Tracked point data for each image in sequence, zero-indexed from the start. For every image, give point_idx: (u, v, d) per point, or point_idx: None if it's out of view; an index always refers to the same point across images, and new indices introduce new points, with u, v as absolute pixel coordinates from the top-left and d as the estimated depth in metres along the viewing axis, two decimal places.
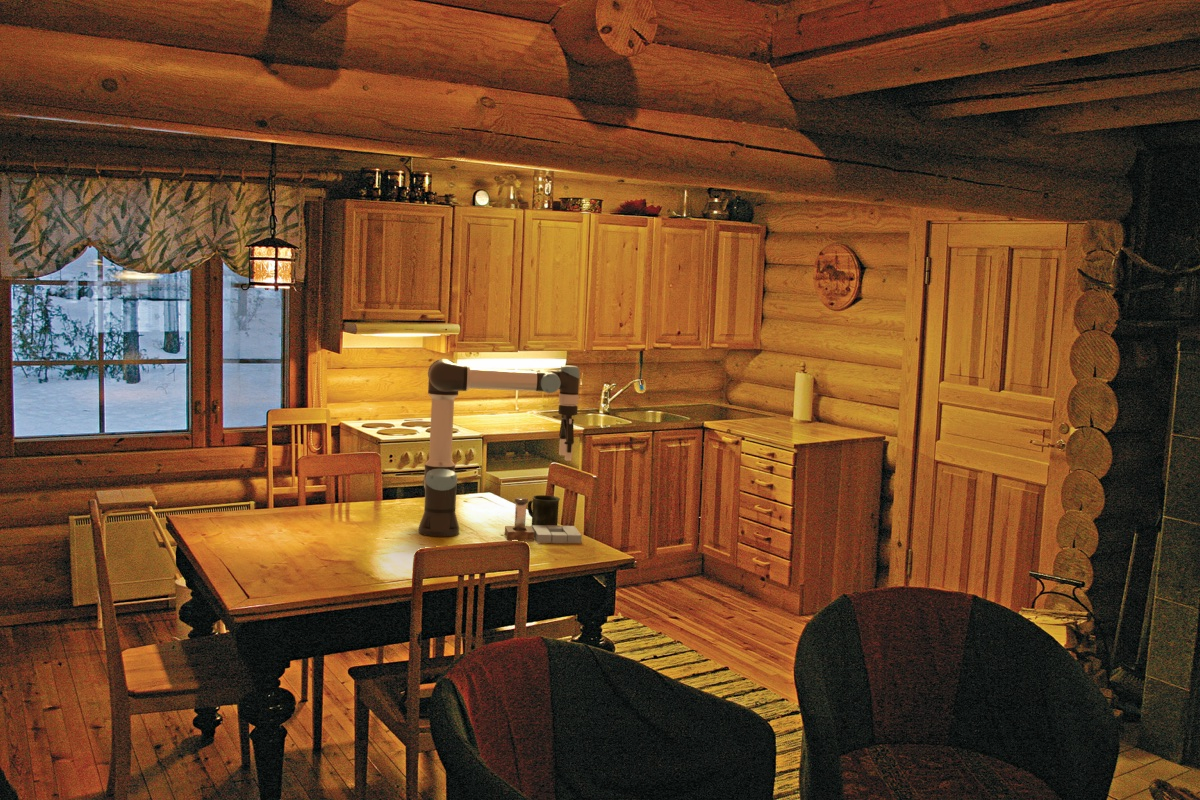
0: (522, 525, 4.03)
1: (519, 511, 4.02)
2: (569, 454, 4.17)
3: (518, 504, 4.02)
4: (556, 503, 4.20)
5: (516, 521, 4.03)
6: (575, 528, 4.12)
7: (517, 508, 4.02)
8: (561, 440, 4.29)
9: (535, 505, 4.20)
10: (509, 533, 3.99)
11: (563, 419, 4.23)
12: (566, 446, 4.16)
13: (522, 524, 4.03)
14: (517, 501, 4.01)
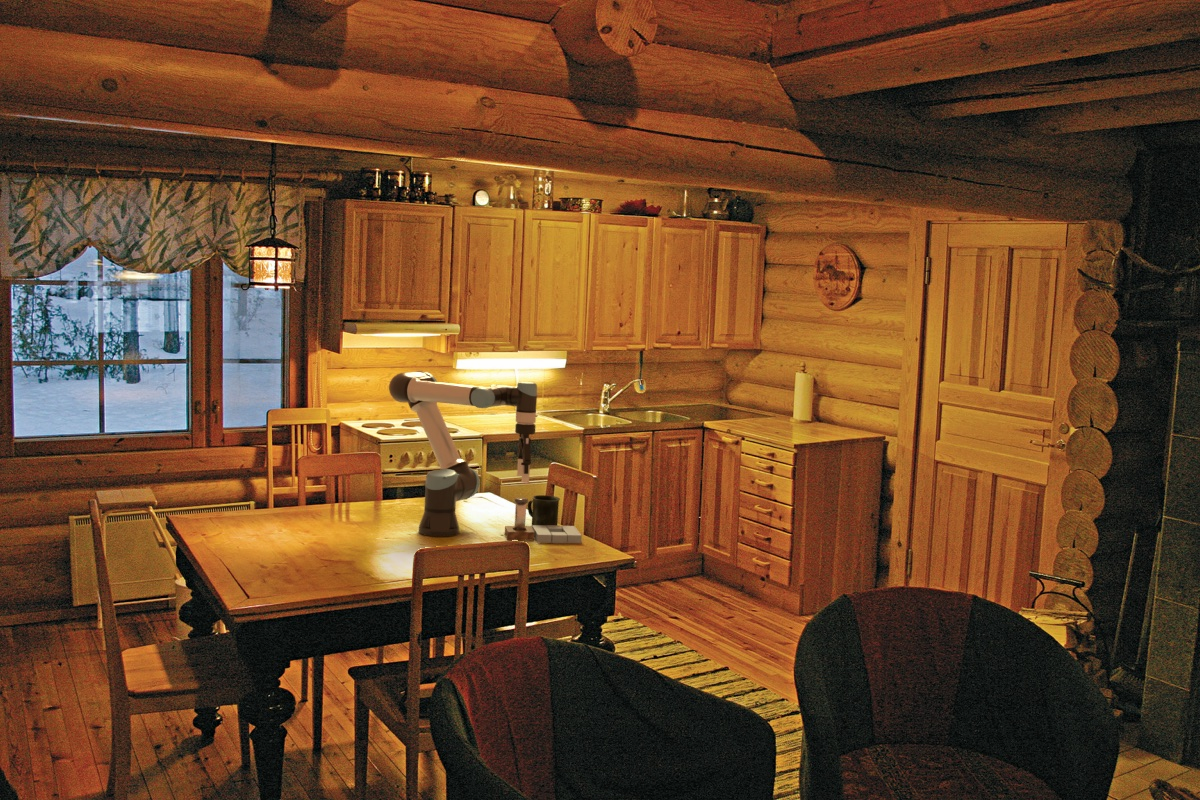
0: (522, 525, 4.03)
1: (519, 511, 4.02)
2: (526, 475, 3.96)
3: (518, 504, 4.02)
4: (556, 503, 4.20)
5: (516, 521, 4.03)
6: (575, 528, 4.12)
7: (517, 508, 4.02)
8: (519, 460, 4.08)
9: (535, 505, 4.20)
10: (509, 533, 3.99)
11: (520, 438, 4.02)
12: (523, 467, 3.95)
13: (522, 524, 4.03)
14: (517, 501, 4.01)
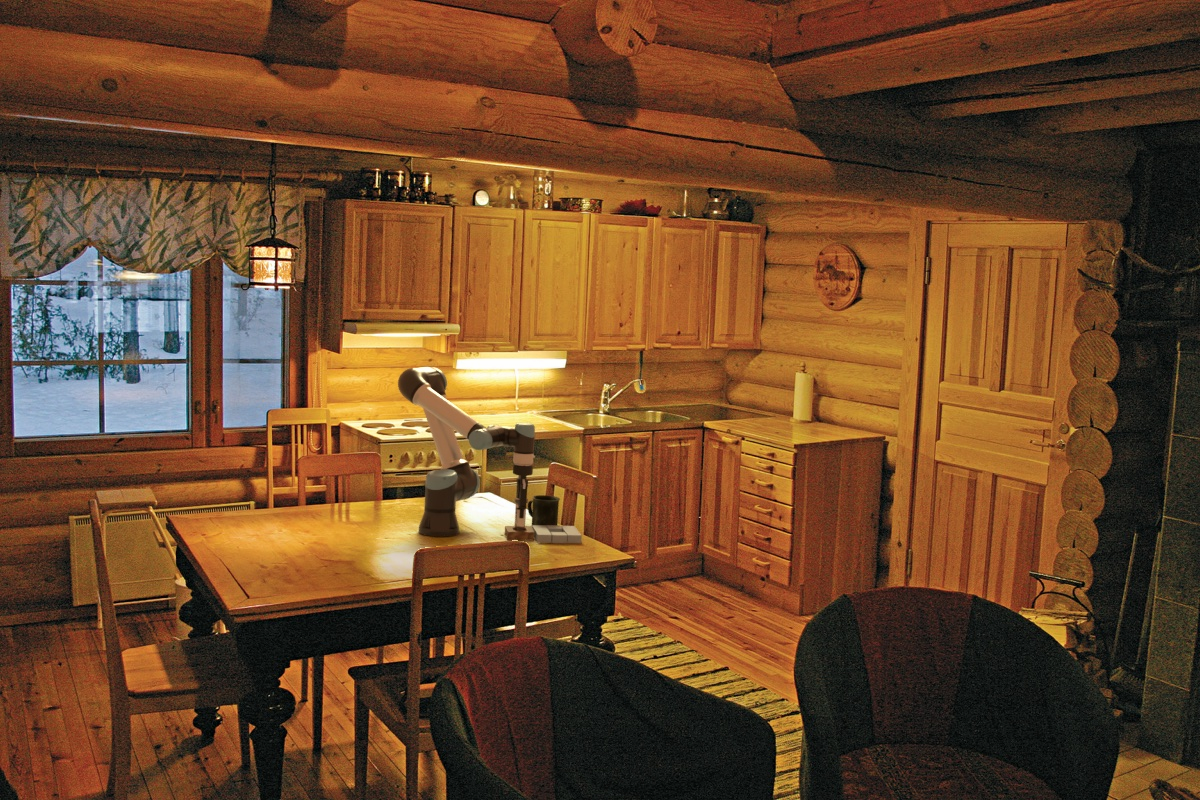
0: None
1: None
2: (522, 520, 4.02)
3: (518, 504, 4.02)
4: (556, 503, 4.20)
5: (516, 521, 4.03)
6: (575, 528, 4.12)
7: None
8: None
9: (535, 505, 4.20)
10: (509, 533, 3.99)
11: (518, 478, 4.04)
12: (518, 511, 4.01)
13: None
14: (517, 501, 4.01)
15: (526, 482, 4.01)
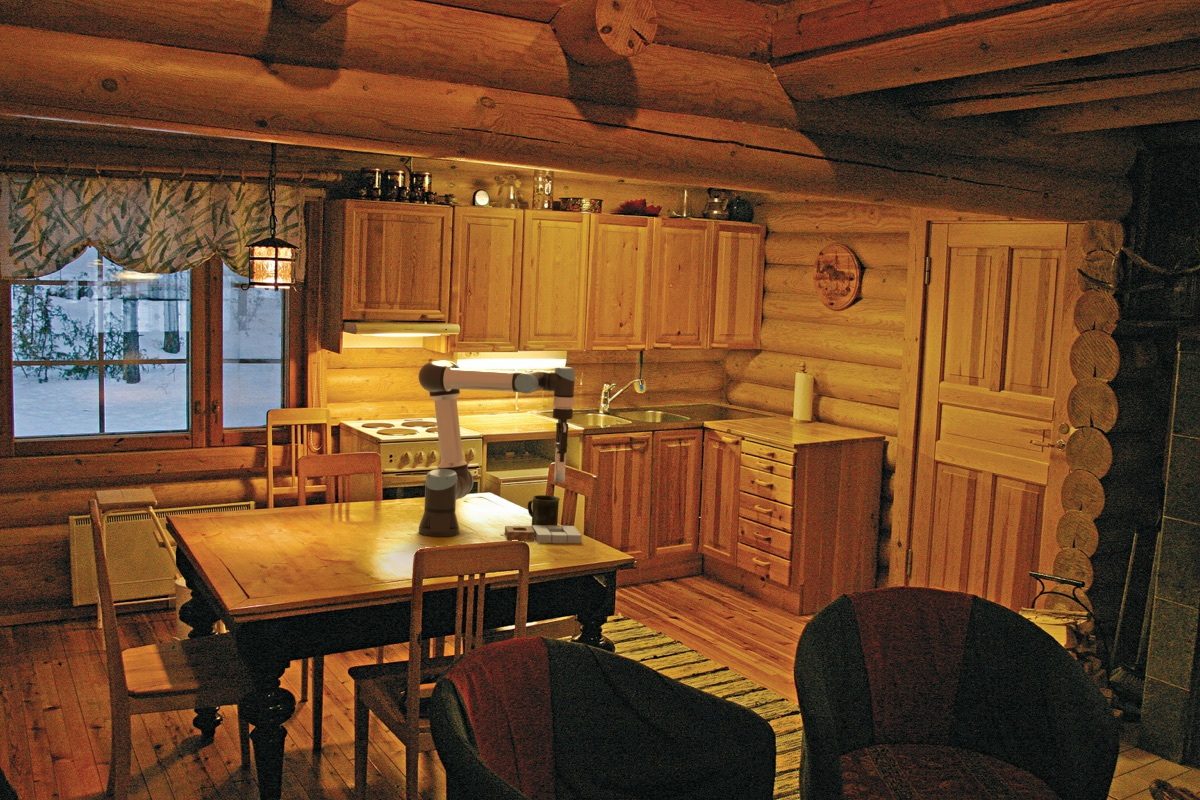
0: None
1: None
2: (562, 464, 4.01)
3: (558, 448, 4.02)
4: (556, 503, 4.20)
5: (556, 465, 4.02)
6: (575, 528, 4.12)
7: None
8: None
9: (535, 505, 4.20)
10: (509, 533, 3.99)
11: (558, 422, 4.03)
12: (559, 455, 4.01)
13: None
14: (557, 445, 4.01)
15: (566, 426, 4.01)
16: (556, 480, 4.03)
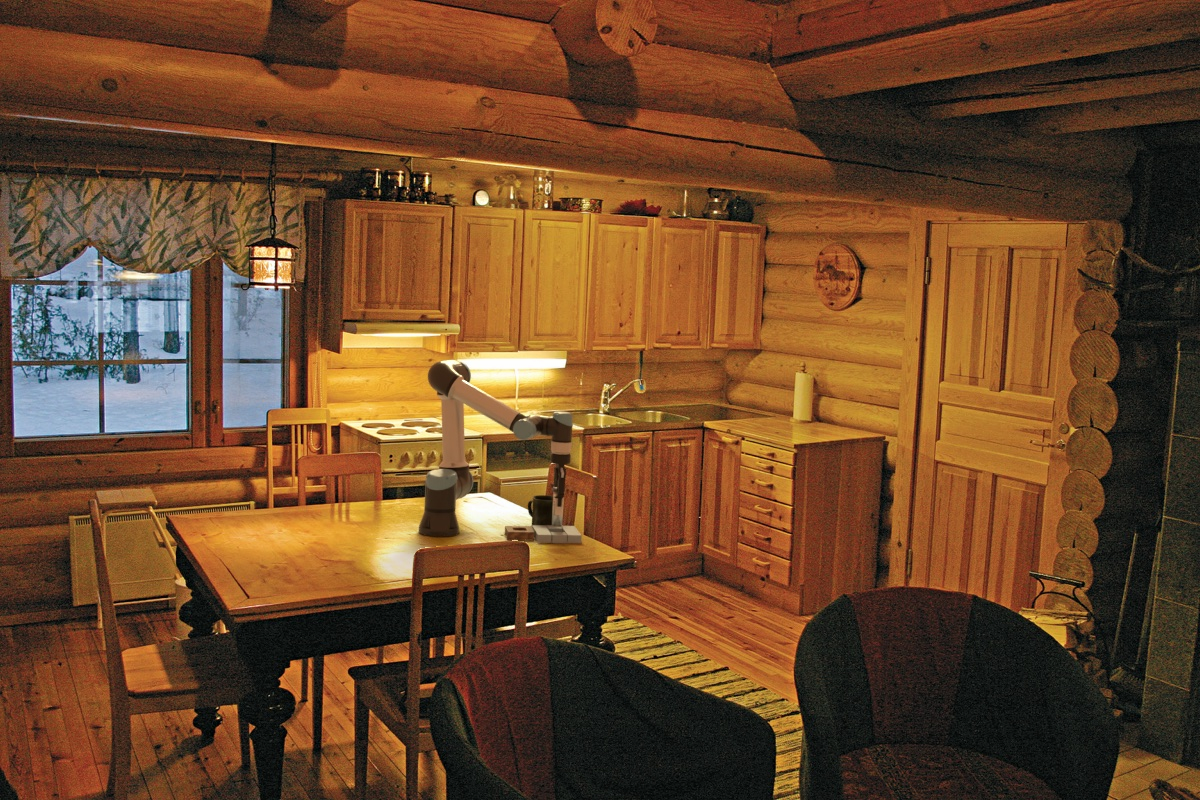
0: None
1: None
2: (559, 508, 4.03)
3: (556, 493, 4.03)
4: None
5: (554, 510, 4.04)
6: (575, 528, 4.12)
7: None
8: None
9: (535, 505, 4.20)
10: (509, 533, 3.99)
11: (555, 467, 4.05)
12: (556, 500, 4.02)
13: None
14: (555, 490, 4.03)
15: (564, 471, 4.03)
16: (554, 524, 4.05)
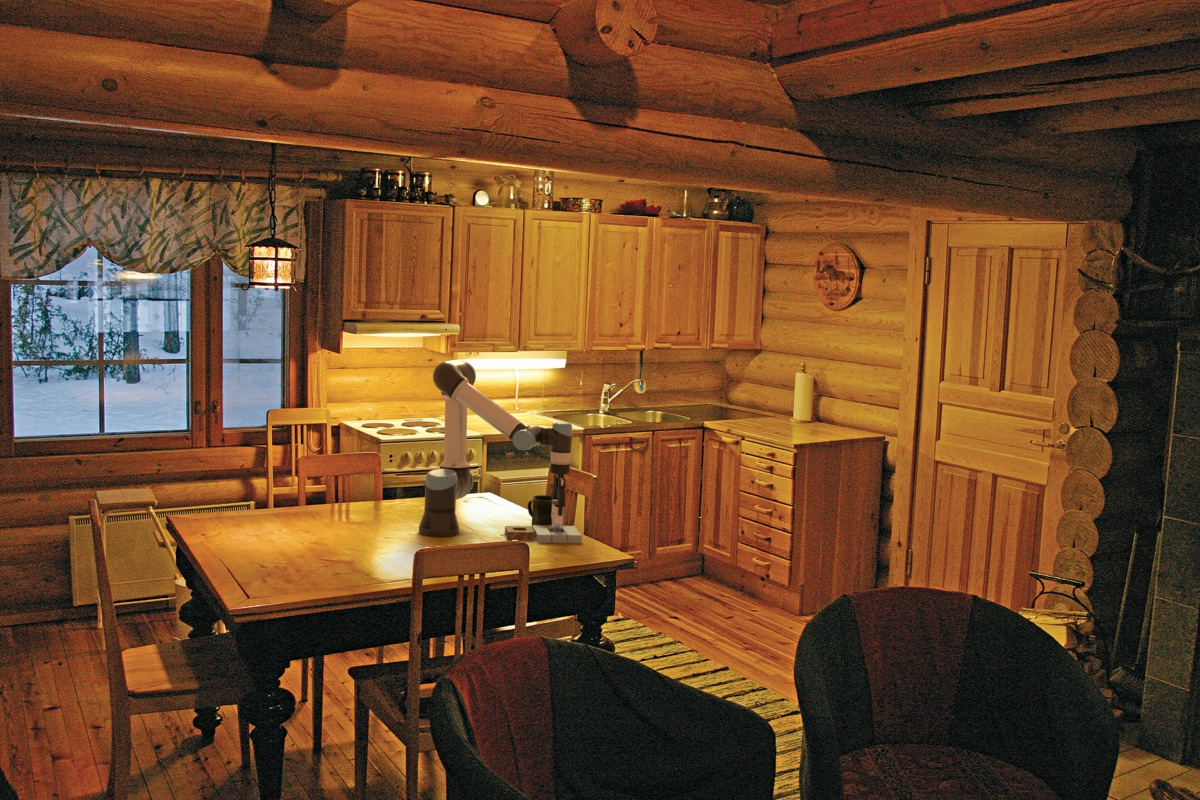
0: (559, 526, 4.05)
1: None
2: (560, 517, 4.00)
3: (555, 505, 4.04)
4: None
5: (553, 522, 4.05)
6: (575, 528, 4.12)
7: (554, 509, 4.04)
8: None
9: (535, 505, 4.20)
10: (509, 533, 3.99)
11: (555, 477, 4.05)
12: (557, 509, 4.00)
13: (559, 525, 4.05)
14: (554, 502, 4.03)
15: None
16: None
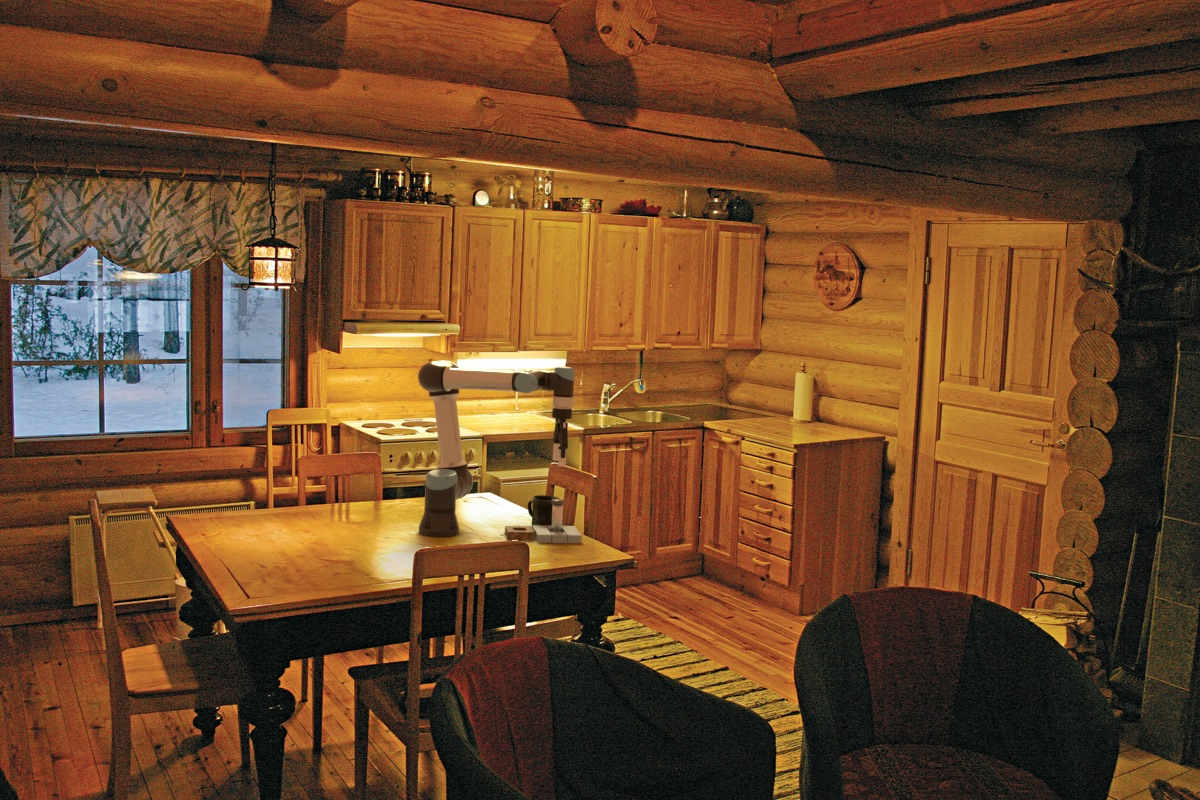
0: (559, 526, 4.05)
1: (556, 513, 4.04)
2: (563, 459, 3.97)
3: (555, 505, 4.04)
4: None
5: (553, 522, 4.05)
6: (575, 528, 4.12)
7: (554, 509, 4.04)
8: (555, 445, 4.10)
9: (535, 505, 4.20)
10: (509, 533, 3.99)
11: (557, 423, 4.03)
12: (560, 451, 3.96)
13: (559, 525, 4.05)
14: (554, 502, 4.03)
15: None
16: None
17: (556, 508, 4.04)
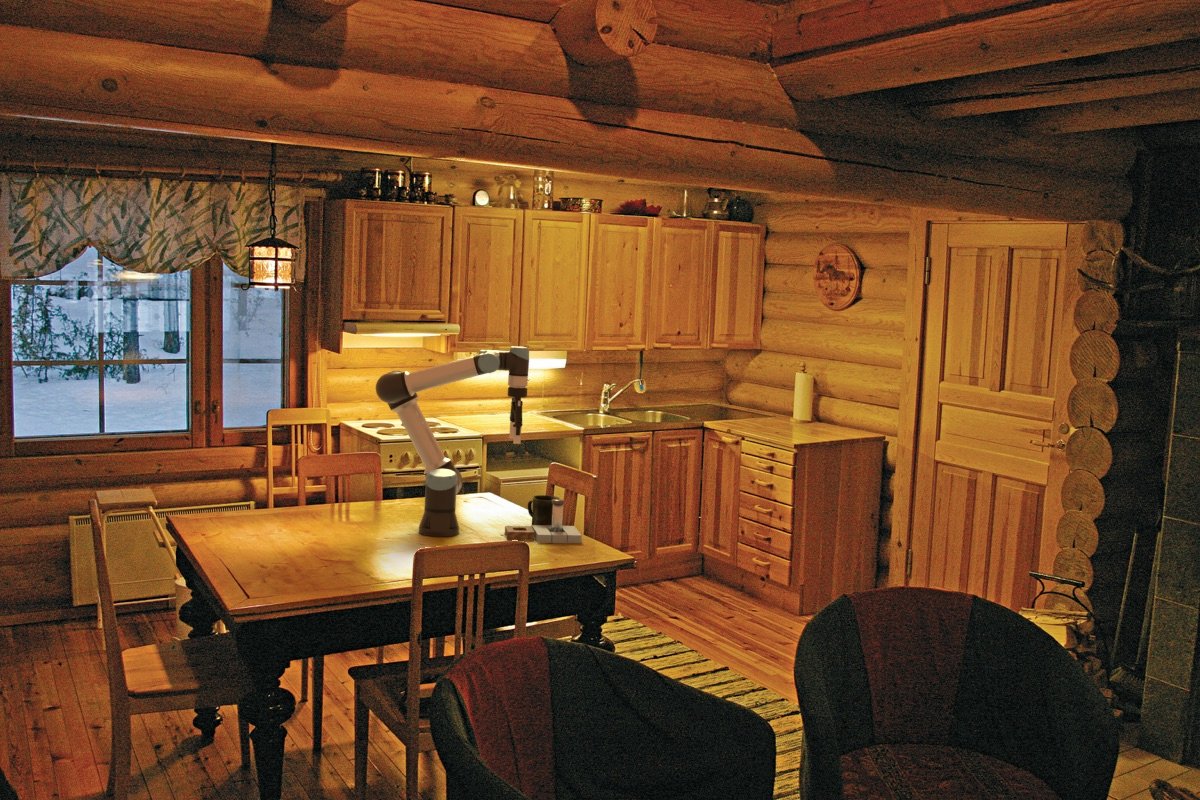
0: (559, 526, 4.05)
1: (556, 513, 4.04)
2: (518, 437, 4.07)
3: (555, 505, 4.04)
4: None
5: (553, 522, 4.05)
6: (575, 528, 4.12)
7: (554, 509, 4.04)
8: (511, 423, 4.19)
9: (535, 505, 4.20)
10: (509, 533, 3.99)
11: (512, 401, 4.13)
12: (515, 429, 4.06)
13: (559, 525, 4.05)
14: (554, 502, 4.03)
15: None
16: None
17: (556, 508, 4.04)
